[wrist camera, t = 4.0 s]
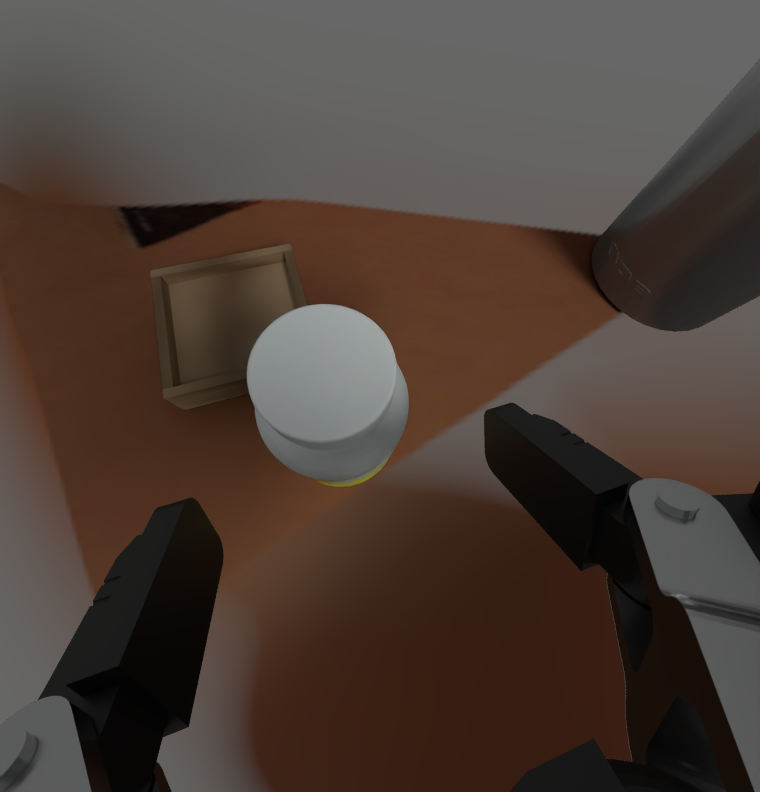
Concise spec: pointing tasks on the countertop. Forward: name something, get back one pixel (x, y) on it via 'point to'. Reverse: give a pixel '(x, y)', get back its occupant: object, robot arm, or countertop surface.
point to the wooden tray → (219, 320)
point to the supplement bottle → (328, 394)
